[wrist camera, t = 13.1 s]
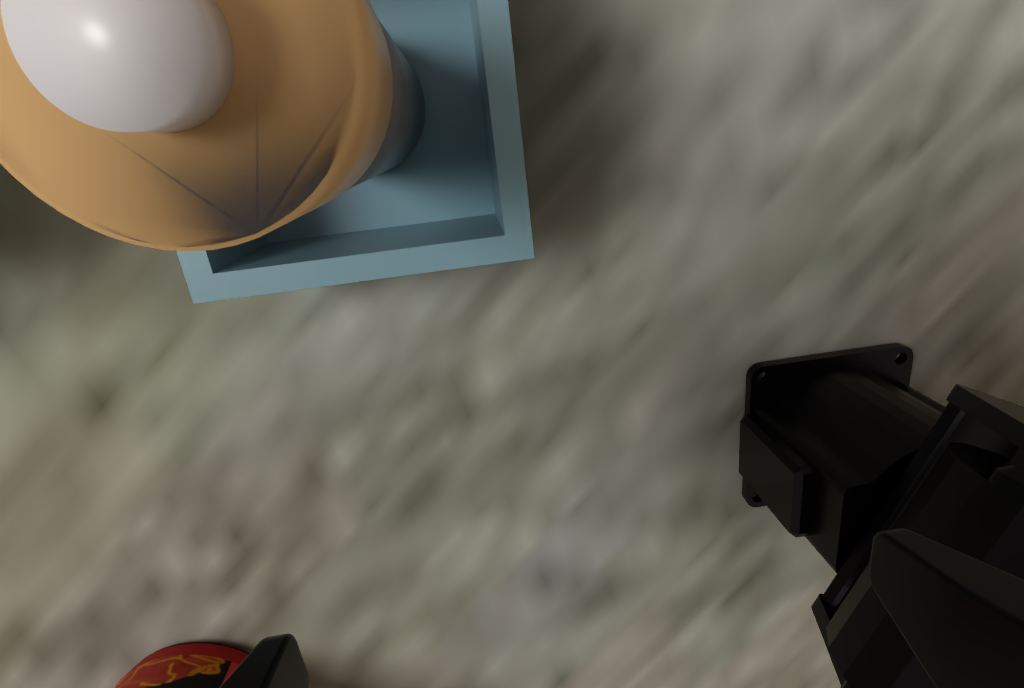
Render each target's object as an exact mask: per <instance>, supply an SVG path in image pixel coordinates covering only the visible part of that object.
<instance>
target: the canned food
mask: <svg viewBox="0 0 1024 688" xmlns="http://www.w3.org/2000/svg"><path fill="white" fill-rule="evenodd" d="M247 656H248V654H246V653H244V652H242V651H240V650H237V649H233V648H230V647H227V646H222V645H215V644H209V643H189V644H182V645H175V646H171V647H168V648H165V649H162V650H159V651H157V652H155V653H153V654H151V655H149V656H147V657H146V658H144V659H143V660H142V661H141V662H140V663H139V664H137V665H136V666H135V667H134V668H133V669H132V670H131V671H130V672H128V673H127V674H126V675H125V676H124V677H123V678H122V679H121V680H120V681H119V682H118V684H117V685H116V687H115V688H219V687H220V686H221V685H222V684H223V683H224V682H225V681H226V679H227V678H228V677H229V676H230V675H231V674H232V673H233V672H234V670H235V669H236V668H237V667H238V666H239V665H240V664H241V663H242V661H243V660H244V659H245V658H246V657H247Z"/></svg>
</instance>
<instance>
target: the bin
mask: <svg viewBox="0 0 1024 688" xmlns="http://www.w3.org/2000/svg"><path fill="white" fill-rule="evenodd" d="M369 2H370V3H371V6H372V8H373V10H374V12H375V14H376V16H377V18H378V19H379V20H380V22H381V23H382V25H383V26H384V28H385V29H386V30H387V32H388V33H389V35H390V36H391V38H392V39H393V40H394V42H395V43H396V45H397V46H398V48H399V49H400V50H401V52H402V53H403V55H404V56H405V58H406V59H407V60H408V62H409V63H410V65H411V66H412V68H413V69H414V71H415V73H416V75H417V77H418V79H419V81H420V84H421V87H422V90H423V94H424V99H425V121H424V127H423V131H422V134H421V136H420V139H419V141H418V143H417V145H416V146H415V148H414V150H413V151H412V152H411V153H410V155H409V156H408V157H407V158H406V159H405V160H404V161H403V162H401V163H400V164H398V165H397V166H395V167H393V168H391V169H390V170H388V171H385V172H383V173H381V174H379V175H377V176H375V177H373V178H371V179H369V180H367V181H365V182H363V183H360V184H358V185H356V186H354V187H352V188H350V189H348V190H347V191H345V192H344V193H343V194H341V195H340V196H338V197H337V198H336V199H334V200H332V201H330V202H328V203H326V204H324V205H322V206H320V207H318V208H316V209H314V210H312V211H310V212H308V213H306V214H304V215H302V216H300V217H298V218H296V219H295V220H293V221H291V222H289V223H287V224H285V225H283V226H281V227H279V228H277V229H275V230H273V231H271V232H269V233H267V234H265V235H263V236H261V237H259V238H256V239H253V240H250V241H247V242H245V243H242V244H239V245H235V246H230V247H225V248H220V249H215V250H204V251H189V252H188V251H176V252H177V255H178V258H179V261H180V264H181V267H182V270H183V273H184V276H185V279H186V282H187V285H188V288H189V291H190V294H191V297H192V301H193V304H195V303H202V302H210V301H218V300H225V299H233V298H240V297H248V296H255V295H263V294H270V293H278V292H285V291H293V290H300V289H308V288H315V287H323V286H330V285H338V284H345V283H353V282H360V281H368V280H375V279H383V278H391V277H398V276H406V275H413V274H421V273H428V272H436V271H443V270H451V269H458V268H466V267H473V266H481V265H488V264H496V263H503V262H511V261H518V260H526V259H533V258H534V249H533V239H532V229H531V220H530V210H529V200H528V190H527V180H526V171H525V161H524V151H523V141H522V132H521V122H520V112H519V102H518V93H517V83H516V73H515V63H514V54H513V44H512V34H511V24H510V15H509V5H508V0H369Z"/></svg>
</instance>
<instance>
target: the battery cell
mask: <svg viewBox="0 0 1024 688" xmlns="http://www.w3.org/2000/svg"><path fill="white" fill-rule="evenodd" d="M424 121H425V99H424V94H423V90H422V87H421V84H420V81H419V79H418V77H417V75H416V73H415V71H414V69H413V68H412V66H411V65H410V63H409V62H408V60H407V59H406V58H405V56H404V55H403V53H402V52H401V50H400V49H399V48H398V46H397V45H396V43H395V42H394V40H393V39H392V38H391V36H390V35H389V33H388V32H387V30H386V29H385V28H384V26H383V25H382V23H381V22H380V20H379V19H378V18H377V16H376V14H375V12H374V10H373V8H372V6H371V3H370V2H369V0H0V163H1V164H2V165H3V166H4V168H5V169H6V170H7V171H8V172H9V173H10V174H11V175H12V176H13V177H15V178H16V179H17V180H18V181H19V182H20V183H22V184H23V185H24V186H25V187H26V188H27V189H29V190H30V191H31V192H32V193H33V194H34V195H36V196H37V197H38V198H40V199H41V200H43V201H44V202H46V203H47V204H49V205H50V206H51V207H53V208H54V209H56V210H57V211H59V212H60V213H62V214H64V215H65V216H67V217H69V218H71V219H73V220H74V221H76V222H78V223H80V224H82V225H83V226H85V227H88V228H90V229H92V230H95V231H97V232H99V233H102V234H104V235H107V236H109V237H111V238H115V239H118V240H121V241H125V242H128V243H131V244H134V245H138V246H144V247H149V248H155V249H160V250H171V251H188V252H189V251H204V250H215V249H220V248H225V247H230V246H235V245H239V244H242V243H245V242H247V241H250V240H253V239H256V238H259V237H261V236H263V235H265V234H267V233H269V232H271V231H273V230H275V229H277V228H279V227H281V226H283V225H285V224H287V223H289V222H291V221H293V220H295V219H296V218H298V217H300V216H302V215H304V214H306V213H308V212H310V211H312V210H314V209H316V208H318V207H320V206H322V205H324V204H326V203H328V202H330V201H332V200H334V199H336V198H337V197H338V196H340V195H341V194H343V193H344V192H345V191H347V190H348V189H350V188H352V187H354V186H356V185H358V184H360V183H363V182H365V181H367V180H369V179H371V178H373V177H375V176H377V175H379V174H381V173H383V172H385V171H388V170H390V169H391V168H393V167H395V166H397V165H398V164H400V163H401V162H403V161H404V160H405V159H406V158H407V157H408V156H409V155H410V153H411V152H412V151H413V150H414V148H415V146H416V145H417V143H418V141H419V139H420V136H421V134H422V131H423V127H424Z"/></svg>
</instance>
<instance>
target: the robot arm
mask: <svg viewBox="0 0 1024 688" xmlns="http://www.w3.org/2000/svg"><path fill="white" fill-rule="evenodd" d="M899 353H900V355H899V357H898V358H897V359H896V360H894V359H895V357H896V356H897V355H898V354H899ZM912 362H913V352H912V350H911V349H910V348H908V347H906V346H904V345H902V344H900V343H893V344H886V345H879V346H872V347H865V348H858V349H851V350H844V351H837V352H830V353H823V354H816V355H809V356H802V357H795V358H788V359H781V360H774V361H767V362H760V363H756V364H754V365H752V366H751V367H750V368H749V370H748V371H747V375H746V395H745V415H744V416H743V418H742V420H741V421H740V449H739V473H740V474H741V475H742V476H743V482H742V495H743V498H744V499H745V500H746V502H747V503H748V504H749V505H750V506H752V507H761V506H767V507H768V508H769V509H770V510H771V511H772V513H773V514H774V515H775V516H776V517H777V519H778V520H779V521H780V522H781V523H782V525H783V526H784V527H785V528H786V530H787V531H788V532H789V533H791V534H792V535H793V536H795V537H802V536H805V537H806V538H807V539H808V540H809V542H810V543H811V544H812V545H813V546H814V547H815V549H816V550H817V551H818V552H819V553H820V554H821V556H822V557H823V558H824V559H825V560H826V561H827V563H828V564H829V565H830V566H831V567H832V568H833V570H834V571H835V572H836V573H837V575H836V576H835V578H834V579H833V581H832V582H831V584H830V585H829V587H828V588H827V590H826V591H825V593H824V594H819V596H818V597H817V599H816V600H815V602H814V603H813V605H812V610H813V613H814V616H815V618H816V621H817V623H818V626H819V629H820V631H821V634H822V637H823V639H824V642H825V644H826V647H827V650H828V652H829V655H830V657H831V660H832V663H833V665H834V668H835V670H836V673H837V676H838V678H839V681H840V684H841V688H1024V407H1022V406H1019V405H1017V404H1014V403H1011V402H1008V401H1005V400H1002V399H999V398H996V397H993V396H991V395H988V394H985V393H982V392H979V391H976V390H973V389H970V388H967V387H965V386H962V385H959V384H956V385H955V387H954V388H953V390H952V391H951V393H950V394H949V396H948V397H947V399H946V400H948V401H949V403H948V405H947V406H946V407H945V406H943V405H941V404H939V403H937V402H936V401H934V400H932V399H930V398H928V397H927V396H925V395H923V394H921V393H919V392H918V391H916V390H914V389H912V388H911V387H909V382H910V375H911V368H912ZM763 372H765V375H764V377H763V378H762V379H760V380H757V378H758V376H759V375H760V374H761V373H763ZM755 493H757V495H756V496H754V497H753V495H754V494H755ZM308 687H309V681H308V673H307V669H306V667H305V664H304V661H303V658H302V655H301V652H300V650H299V647H298V644H297V641H296V639H295V637H294V636H293V635H291V634H283V635H277V636H272V637H267V638H264V639H263V640H262V641H260V642H259V643H258V644H257V646H256V647H255V648H254V649H253V650H252V651H251V652H250V654H249V655H248V656H247V657H246V658H245V659H244V660H243V661H242V663H241V664H240V665H239V666H238V667H237V668H236V669H235V670H234V672H233V673H232V674H231V675H230V676H229V677H228V678H227V679H226V681H225V682H224V683H223V684H222V685H221V686H220V687H219V688H308Z"/></svg>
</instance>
